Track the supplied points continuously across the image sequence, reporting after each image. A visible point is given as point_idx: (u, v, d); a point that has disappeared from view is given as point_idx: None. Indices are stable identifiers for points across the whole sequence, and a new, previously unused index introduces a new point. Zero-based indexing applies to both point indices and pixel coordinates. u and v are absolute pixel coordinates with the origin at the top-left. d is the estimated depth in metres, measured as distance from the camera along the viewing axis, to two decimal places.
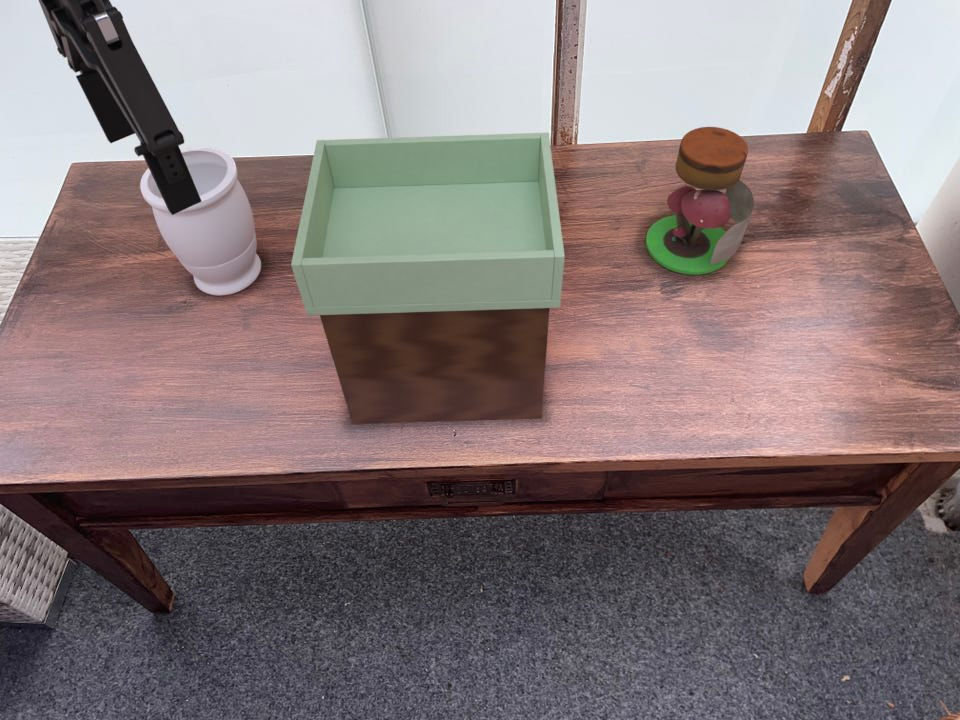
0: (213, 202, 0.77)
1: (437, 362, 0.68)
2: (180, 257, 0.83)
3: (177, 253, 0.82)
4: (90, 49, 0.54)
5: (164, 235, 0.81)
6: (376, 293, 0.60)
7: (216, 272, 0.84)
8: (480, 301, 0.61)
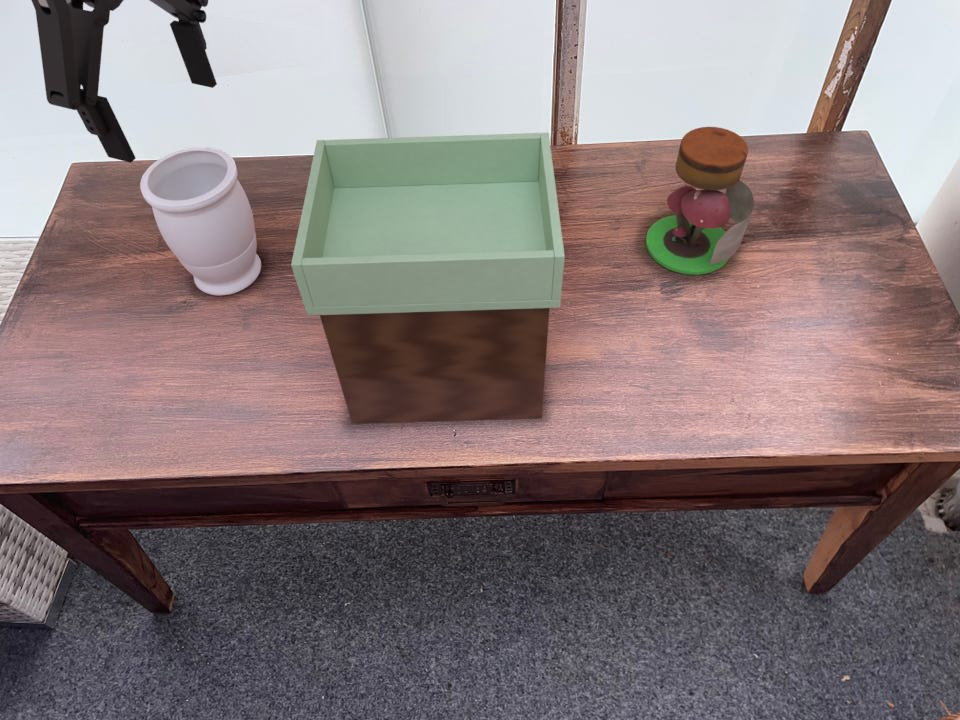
0: (213, 202, 0.77)
1: (437, 362, 0.68)
2: (180, 257, 0.83)
3: (177, 253, 0.82)
4: (87, 4, 0.63)
5: (164, 235, 0.81)
6: (376, 293, 0.60)
7: (216, 272, 0.84)
8: (480, 301, 0.61)
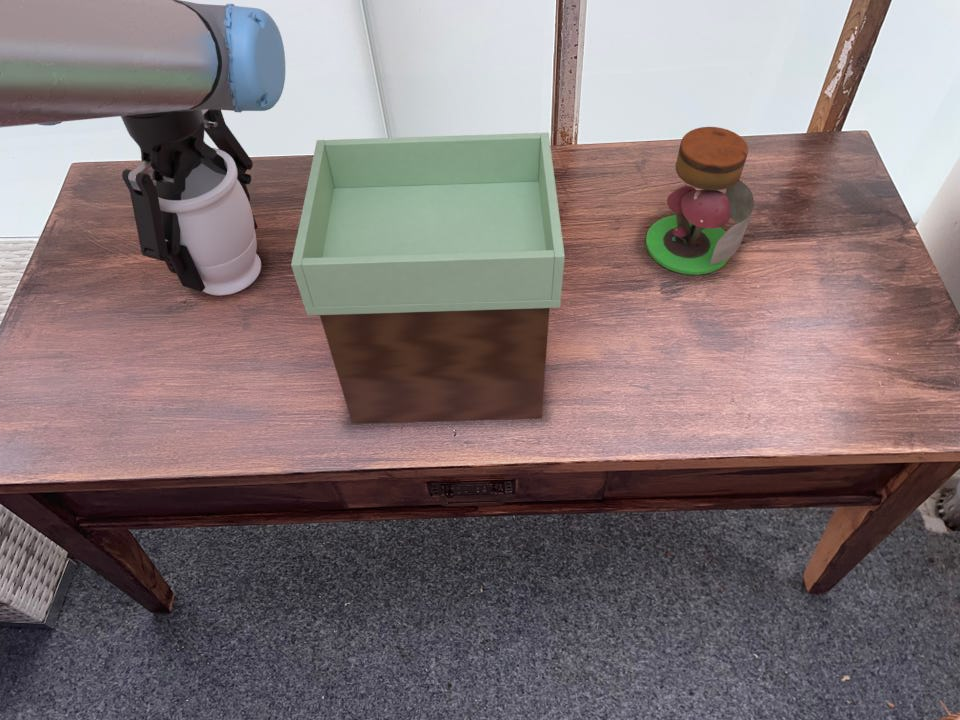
0: (213, 202, 0.77)
1: (437, 362, 0.68)
2: None
3: None
4: None
5: None
6: (376, 293, 0.60)
7: (216, 272, 0.84)
8: (480, 301, 0.61)
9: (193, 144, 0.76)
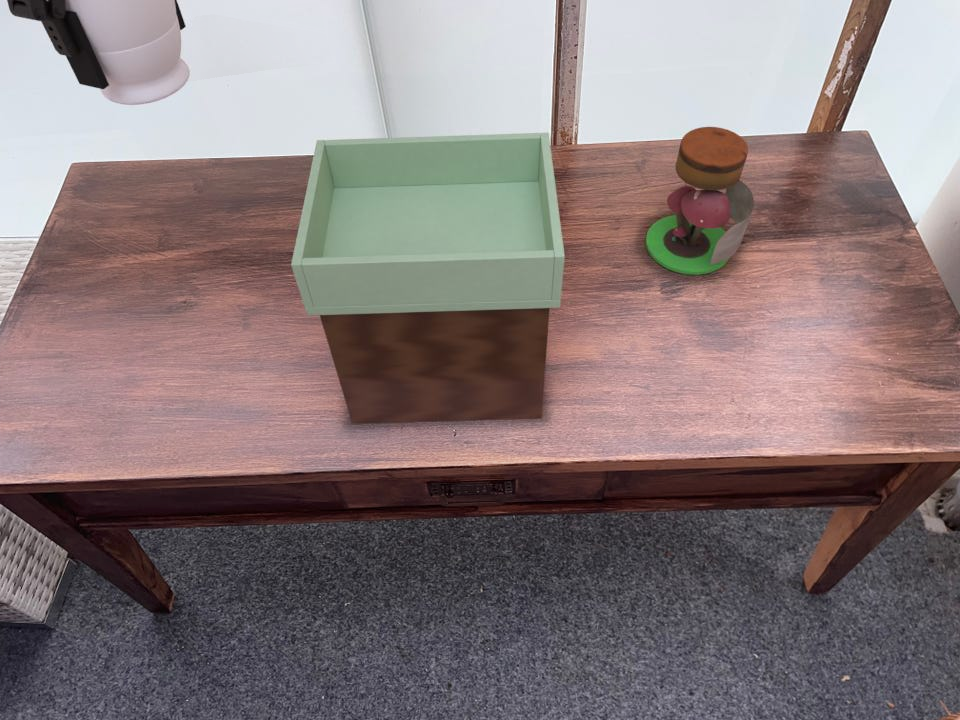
0: None
1: (437, 362, 0.68)
2: None
3: None
4: None
5: (47, 0, 0.60)
6: (376, 293, 0.60)
7: (122, 62, 0.64)
8: (480, 301, 0.61)
9: None
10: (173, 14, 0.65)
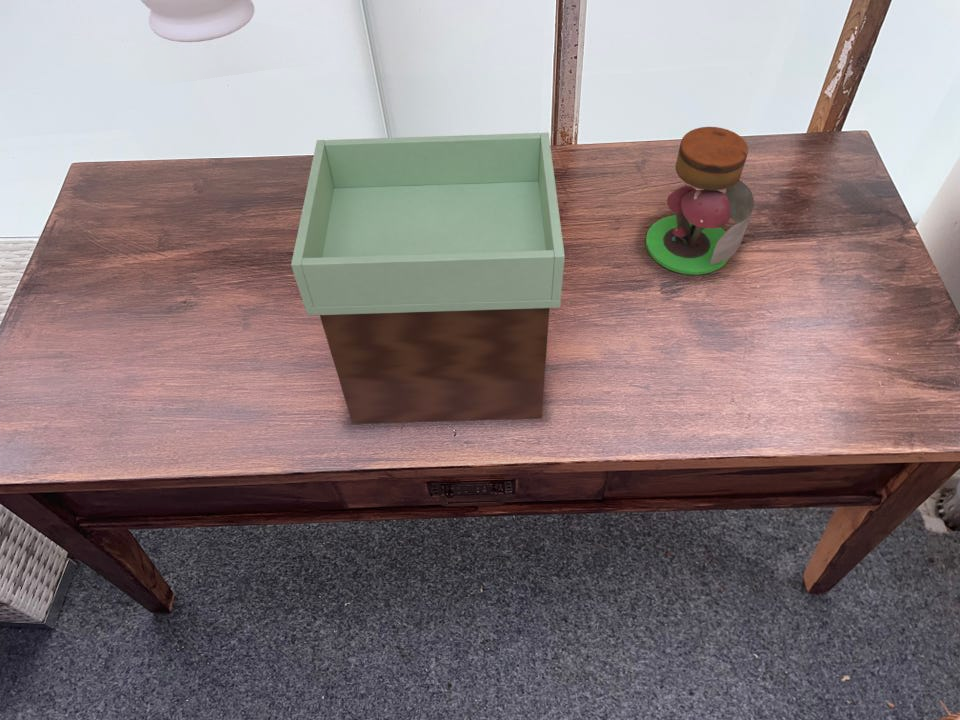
0: None
1: (437, 362, 0.68)
2: None
3: None
4: None
5: None
6: (376, 293, 0.60)
7: None
8: (480, 301, 0.61)
9: None
10: None
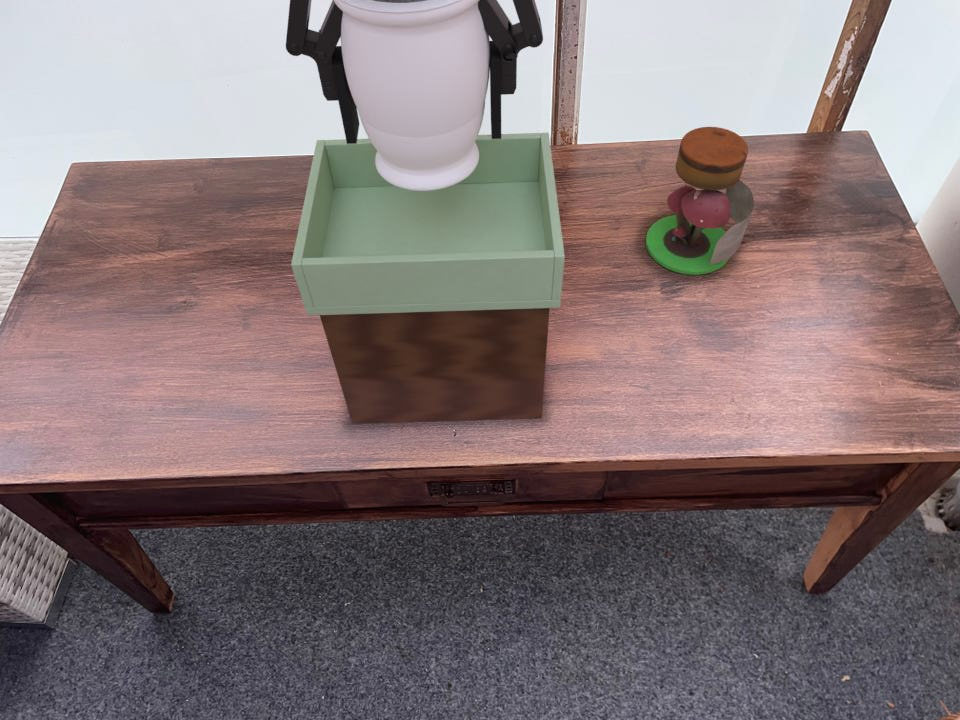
0: None
1: (437, 362, 0.68)
2: None
3: (488, 80, 0.53)
4: None
5: (485, 56, 0.51)
6: (376, 293, 0.60)
7: None
8: (480, 301, 0.61)
9: None
10: None
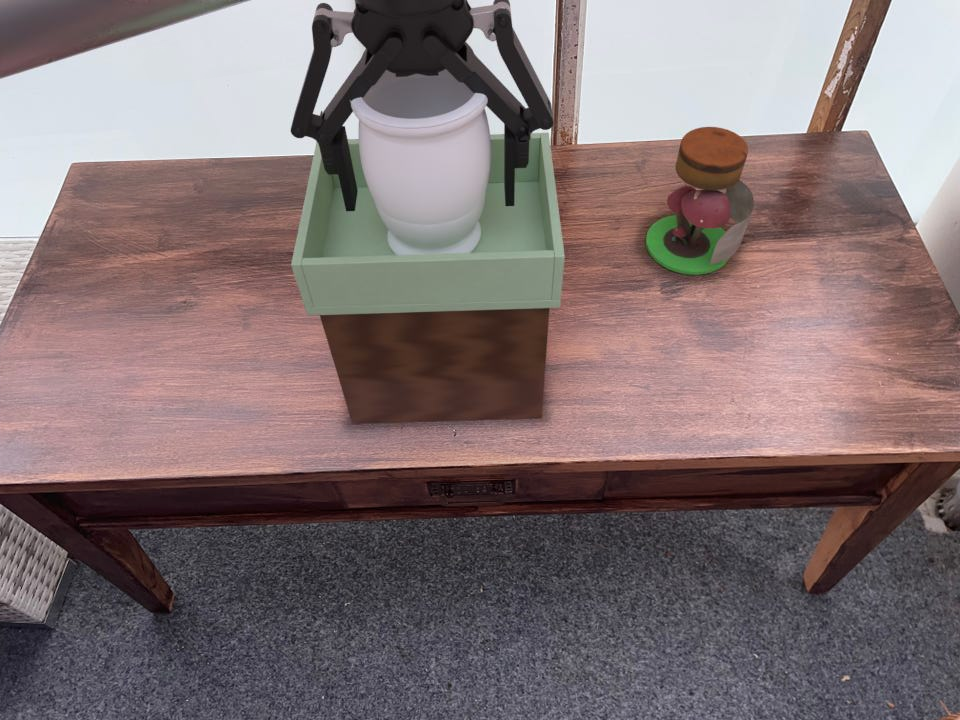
0: None
1: (437, 362, 0.68)
2: (488, 178, 0.60)
3: (489, 172, 0.59)
4: None
5: (487, 155, 0.57)
6: (376, 293, 0.60)
7: None
8: (480, 301, 0.61)
9: None
10: None
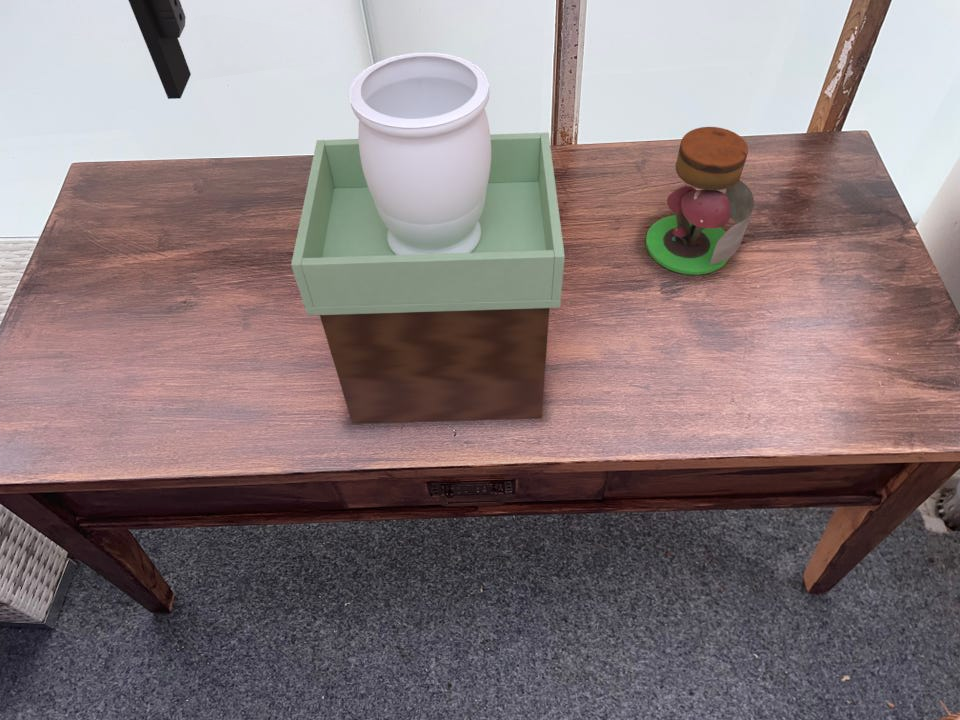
0: None
1: (437, 362, 0.68)
2: (488, 178, 0.60)
3: (489, 172, 0.59)
4: None
5: (487, 155, 0.57)
6: (376, 293, 0.60)
7: None
8: (480, 301, 0.61)
9: None
10: None
